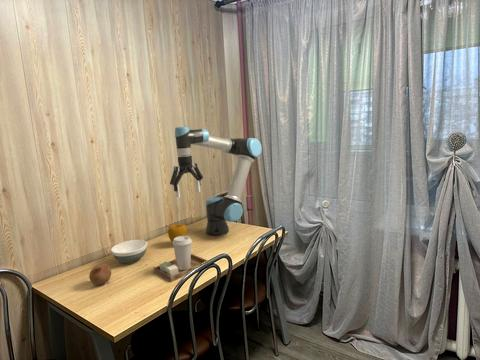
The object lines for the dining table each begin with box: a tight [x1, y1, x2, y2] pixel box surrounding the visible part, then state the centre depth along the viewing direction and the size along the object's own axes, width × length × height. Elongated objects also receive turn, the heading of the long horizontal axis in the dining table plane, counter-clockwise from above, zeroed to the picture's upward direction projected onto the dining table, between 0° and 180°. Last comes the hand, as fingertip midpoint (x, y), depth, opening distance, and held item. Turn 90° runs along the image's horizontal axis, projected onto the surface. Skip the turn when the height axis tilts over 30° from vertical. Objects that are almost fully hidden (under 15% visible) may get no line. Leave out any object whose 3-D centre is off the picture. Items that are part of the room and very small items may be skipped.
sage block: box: [159, 261, 172, 274], centre depth 152 cm, size 4×4×4 cm
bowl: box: [110, 239, 148, 265], centre depth 169 cm, size 19×19×8 cm
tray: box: [152, 253, 209, 283], centre depth 155 cm, size 22×16×2 cm
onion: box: [88, 264, 112, 286], centre depth 145 cm, size 10×9×10 cm
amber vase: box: [167, 223, 188, 243], centre depth 187 cm, size 11×11×13 cm
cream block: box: [167, 265, 179, 276], centre depth 148 cm, size 4×4×4 cm
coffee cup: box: [172, 236, 193, 270], centre depth 154 cm, size 10×10×15 cm
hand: (188, 194), depth 171 cm, fingers open, 13 cm apart
